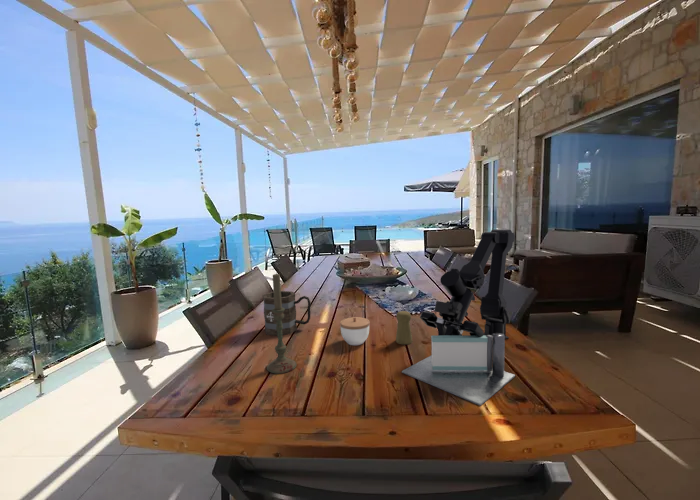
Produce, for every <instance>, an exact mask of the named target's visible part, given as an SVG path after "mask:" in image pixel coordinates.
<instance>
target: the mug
mask: <svg viewBox="0 0 700 500" xmlns="http://www.w3.org/2000/svg"><path fill="white" fill-rule="evenodd" d="M262 299H263V300H262V301H263V316H264V332H265V334H266V335H267V336H274V337H278V336H277V334H278V333H277V330H276V323H277V320H275V319H274V318H273V315H274V313H273V312H272V309H274V308H275V306H274V291H270V292H268V293H264V294H262ZM303 300H307V304H308V305H307V319H306V320H299V319H297V308H296V305H297V304H299V303H301V301H303ZM281 302H282V308H284V309H285V310H284V312H283V314H284V318H283V319H282V320H281V321H282V326H283V329H282V336H285V335H291V334H293V333H294V332H296V331H298V328H297V327H298V326H297V324H300V325H307V324H309V323H310V320H311V306H312V303H311V299H310V297H309V296H306V295H303V296H300V297H299V298H298V299H297V300H296V293H295V292H294V291H292V290H291V291H290V290H289V291H288V290H281Z"/></svg>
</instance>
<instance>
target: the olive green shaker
mask: <svg viewBox="0 0 700 500" xmlns="http://www.w3.org/2000/svg"><path fill="white" fill-rule="evenodd" d="M411 319H412V315H411V313H410V312H409V311H407V310H402V311H401V310H400V311H398V312H397V313H396V320H397V327H396V333H395V334H396V336H395V343H397V344H398V345H409V344H410V345H411V344H412V343H413V336H412V331H411V323H410V321H411Z"/></svg>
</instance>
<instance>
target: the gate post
mask: <svg viewBox="0 0 700 500" xmlns="http://www.w3.org/2000/svg"><path fill="white" fill-rule="evenodd" d="M505 342H506V339H505V335H504V334H501V333H493V340H492V371H487V370H433V369H432V354H431V355H429V356H427V357H426V358H424V359H422V360H420V361H418V362H416V363H413V364H412V365H411V366H409V367H407V368H404V369H403V370H402V371H401V373H402V374H404V375H406V376H409V377H411V378H413V379H416V380H418V381H421V382H423V383H426V384H428V385H431V386H433V387H435V388H437V389H440V390H442V391H444V392H446V393H449V394H452V395H454V396H456V397H458V398H461V399H463V400H465V401H468V402H470V403H473V404H475V405H478V406H482V405H483V404H485V402H487V401H488V400H489V399H490V398H492V397H493V396H494V395H495V394H497V392H499V391H500V390H501V389H502V388H504V387H505V386H506V385H507V384H509V382H511V380H513V379H514V378H516V374H514V373H511V372H507V371H505Z"/></svg>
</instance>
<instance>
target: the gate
mask: <svg viewBox="0 0 700 500" xmlns="http://www.w3.org/2000/svg"><path fill="white" fill-rule="evenodd" d="M430 339H431V355H432V369H433V370H487V371H492V363H493V336H492V335H483V336H482V337H477V336H476V335H470V334H469V335H463V334H462V335H440V336H438V335H431V337H430Z"/></svg>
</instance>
